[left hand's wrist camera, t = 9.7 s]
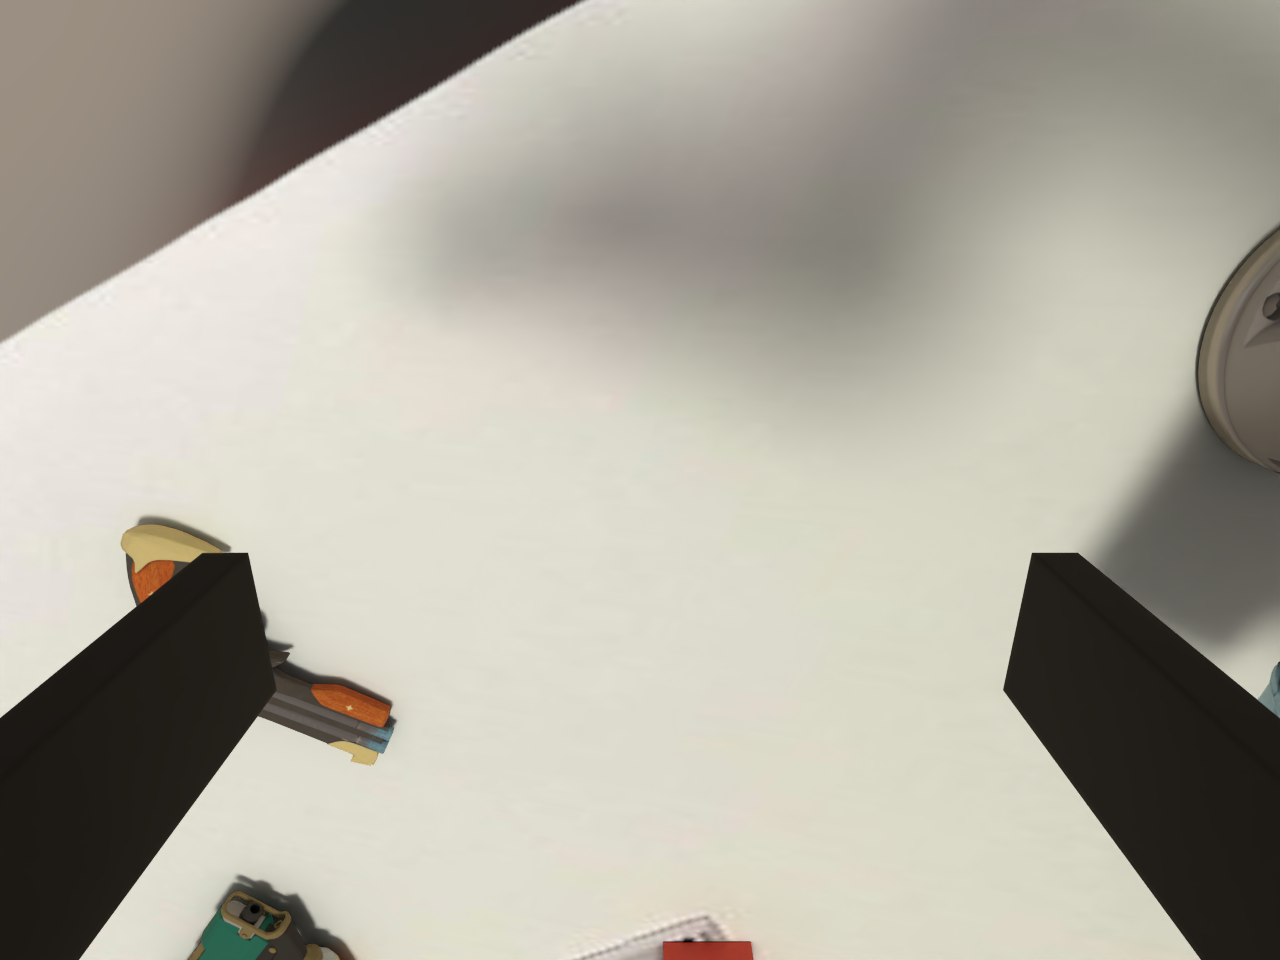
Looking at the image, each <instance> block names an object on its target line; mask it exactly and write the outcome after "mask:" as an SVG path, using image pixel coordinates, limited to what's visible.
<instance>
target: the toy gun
mask: <svg viewBox="0 0 1280 960" xmlns="http://www.w3.org/2000/svg"><path fill="white" fill-rule="evenodd" d="M121 547H122V549H123V550H124V551H125V552H126V563H127V572H128V579H129V583H130V588H131V591H132V594H133V597H134V600H135V603H136V606H138V605H139V604H140V603H142V602H143V601H144V600H145V599H146V598H148V597H149V596H150V595H151V594H153V593H154V592H155V591H156V590H157V589H159V588H160V587H161V586H162V585H164V584H165V583H166V582H167V581H168V580H170V579H171V578H172V577H173V576H175V575H176V574H177V573H178V572H179V571H181V570H182V569H183V568H184V567H186V566H187V565H188V564H189V563H190V562H192V561H193V560H194V559H195V558H197V557H198V556H199V555H200V554H201V553H222V551H221V550H220V549H218V548H216V547H215V546H213V545H211V544H209V543H207V542H205V541H203V540H201V539H198V538H196V537H194V536H192V535H190V534H187V533H185V532H182V531H180V530H177V529H173V528H169V527H165V526H161V525H151V524H147V525H139V526H136V527H133V528H131V529H129V530H127V531H126V532H125V533H124V534H123V537H122V539H121ZM289 654H290V653H289V652H280V651H273V650H269V655H270V660H271V665H272V669H273V674H274V679H275V684H276V689H277V690H276V692H275V693H274V694H273V696H272V697H271V699H270V700H269V701H268V703H267V704H266V705H265V707H264V708H263V709H262V711H261V712H260V714H259V715H258V716H259V717H262V718H265V719H267V720H270V721H273V722H275V723H278V724H280V725H283V726H285V727H288V728H290V729H293V730H296V731H298V732H301V733H303V734H306V735H308V736H311V737H313V738H316V739H318V740H320V741H323V742H325V743H327V744H328V745H331V746H333V747H336V748H338V749H341V750H344V751H346V752H348V753H351V754H353V758H352V760H351V762H356V763H361V764H365V765H371V764H374V763H375V761H376V759H377V756H378V753H382V754H383V753H384V751H385V749H386V747H387V745H388V742H389V739H390V737H391V735H392V733H393V730H394V727H392V726H390V725H391V723H389V722H387V719H388V716H389V714H390V708H391V707H390V706H389V705H386V704H384V703H382V702H380V701H377V700H375V699H373V698H370V697H368V696H365V695H363V694H361V693H358V692H356V691H354V690H351V689H349V688H347V687H344V686H341V685H334V684H309V683H307V682H304V681H302V680H299V679H297V678H294V677H292V676H289V675H287V674H286V673H284V672H282V671H281V670H279V669H277V668H276V667H275V666H277V665H280V664H282V663H284V662H285V660H286V659H287V657H288V656H289Z"/></svg>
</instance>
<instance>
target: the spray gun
mask: <svg viewBox="0 0 1280 960" xmlns="http://www.w3.org/2000/svg"><path fill="white" fill-rule="evenodd" d="M234 897H238V898H241V899H243V900H245V901H247V902H248V904H247V905H244V904H243V903H241V902H239V901H233V900H231V899H232V898H234ZM230 900H231V901H230ZM265 912H268V913H269V914H266V916H264V914H265ZM272 915H273V916H275V917H277V918H282V917H285V919H284V921H282V920H279V921H277V922H276V923H275V925H274V921H273V917H272ZM188 960H340V958H339V956H338V955H337V954H335V953H334V952H333V951H332V950H330V949H329V948H326V947H319V946H318V945H317V944H308V945H305V944H304V942H303V940H302V938H301V936H300V934H299V932H298V931H297V929H296V927H295V925H294V923H293V921H291V916H290V914H289V913H288V911H282V912H279V911H277V910H275V909H274V908H272V907H270V906H268V905H266V904H264V903H262V902H260V901H259V900H257V899H255V898H253V897H251V896H249V895H247V894H245V893H244V892H241V891H235V892H233V893H232V894H231V895H229V897H228V898H227V899H226V901H225V902H224V904H223V905H222V906H221V907H220V909H219V910H218V912H217V913H216V914H215V916H214V917H213V919H212V920H211V921H210V923H209V924H208V926H207V927H206V928H205V930H204V932H203V935H202V941H201V943H200V944H199V945H198V947H197V948H196V949H195V951H194V952H193V954H192V955H191V956H190V958H189V959H188Z"/></svg>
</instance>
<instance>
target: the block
mask: <svg viewBox="0 0 1280 960" xmlns="http://www.w3.org/2000/svg"><path fill="white" fill-rule="evenodd" d="M663 960H753V954H752V947H751V942H664V943H663Z"/></svg>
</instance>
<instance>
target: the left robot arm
mask: <svg viewBox="0 0 1280 960" xmlns="http://www.w3.org/2000/svg"><path fill="white" fill-rule="evenodd" d="M1198 380H1199V391H1200V396H1201V401H1202V404H1203V408H1204V411H1205V413H1206V416H1207V418H1208V420H1209V422H1210V424H1211V426H1212V427H1213V429H1214V430H1215V432H1216V433H1217V434H1218V436H1219V437H1220V438H1221V439H1222V441H1223V442H1224V443H1226V444H1227V445H1228V446H1229V447H1230V448H1231V449H1232V450H1234V451H1235V452H1236V453H1238V454H1239V455H1241V456H1242V457H1244V458H1246V459H1248V460H1250V461H1252V462H1254V463H1256V464H1259V465H1261V466H1263V467H1266V468H1268V469H1270V470H1273V471H1275V472H1277V473H1280V229H1279V230H1278V231H1277V232H1276V233H1274V234H1273V235H1272V236H1271V237H1270V238H1268V239H1267V240H1266V241H1265V242H1264V243H1263V244H1262V245H1261V246H1260V247H1259V248H1258V249H1257V250H1256V251H1255V252H1254V253H1253V254H1252V255H1251V256H1250V257H1249V258H1248V259H1247V260H1246V262H1245V263H1244V264H1243V265H1242V266H1241V267H1240V269H1239V270H1238V271H1237V273H1236V274H1235V275H1234V277H1233V278H1232V279H1231V281H1230V282H1229V284H1228V285H1227V287H1226V289H1225V290H1224V292H1223V293H1222V295H1221V297H1220V299H1219V301H1218V303H1217V304H1216V306H1215V308H1214V311H1213V313H1212V315H1211V317H1210V320H1209V322H1208V325H1207V328H1206V331H1205V334H1204V338H1203V342H1202V346H1201V351H1200V358H1199V370H1198ZM276 690H277V689H276V684H275V679H274V674H273V669H272V665H271V660H270V655H269V650H268V646H267V641H266V636H265V631H264V627H263V622H262V617H261V612H260V608H259V603H258V598H257V593H256V589H255V584H254V579H253V574H252V570H251V565H250V560H249V555H248V553H201V554H200V555H199V556H198V557H197V558H195V559H194V560H193V561H192V562H190V563H189V564H188V565H187V566H186V567H184V568H183V569H182V570H181V571H179V572H178V573H177V574H176V575H175V576H173V577H172V578H171V579H170V580H168V581H167V582H166V583H165V584H164V585H162V586H161V587H160V588H159V589H157V590H156V591H155V592H154V593H153V594H151V595H150V596H149V597H148V598H146V599H145V600H144V601H143V602H142V603H140V604H139V605H138V606H137V607H135V608H134V609H133V610H132V611H131V612H129V613H128V614H127V615H126V616H124V617H123V618H122V619H121V620H120V621H118V622H117V623H116V624H115V625H113V626H112V627H111V628H110V629H109V630H107V631H106V632H105V633H104V634H102V635H101V636H100V637H99V638H98V639H96V640H95V641H94V642H93V643H91V644H90V645H89V646H88V647H87V648H85V649H84V650H83V651H82V652H80V653H79V654H78V655H77V656H76V657H74V658H73V659H72V660H71V661H69V662H68V663H67V664H66V665H65V666H63V667H62V668H61V669H60V670H58V671H57V672H56V673H55V674H54V675H52V676H51V677H50V678H49V679H47V680H46V681H45V682H44V683H43V684H41V685H40V686H39V687H38V688H36V689H35V690H34V691H33V692H32V693H30V694H29V695H28V696H27V697H25V698H24V699H23V700H22V701H21V702H19V703H18V704H17V705H16V706H14V707H13V708H12V709H11V710H10V711H8V712H7V713H6V714H5V715H3V716H2V717H1V718H0V960H79V959H80V958H81V956H82V955H83V954H84V952H85V951H86V949H87V948H88V947H89V945H90V944H91V943H92V941H93V940H94V939H95V937H96V936H97V934H98V933H99V932H100V930H101V929H102V928H103V926H104V925H105V924H106V922H107V921H108V919H109V918H110V917H111V915H112V914H113V913H114V911H115V910H116V909H117V907H118V906H119V904H120V903H121V902H122V900H123V899H124V898H125V896H126V895H127V894H128V892H129V891H130V889H131V888H132V887H133V885H134V884H135V883H136V881H137V880H138V879H139V877H140V876H141V874H142V873H143V872H144V870H145V869H146V868H147V866H148V865H149V864H150V862H151V861H152V859H153V858H154V857H155V855H156V854H157V853H158V851H159V850H160V849H161V847H162V846H163V844H164V843H165V842H166V840H167V839H168V838H169V836H170V835H171V834H172V832H173V831H174V829H175V828H176V827H177V825H178V824H179V823H180V821H181V820H182V819H183V817H184V816H185V814H186V813H187V812H188V810H189V809H190V808H191V806H192V805H193V804H194V802H195V801H196V799H197V798H198V797H199V795H200V794H201V793H202V791H203V790H204V789H205V787H206V786H207V784H208V783H209V782H210V780H211V779H212V778H213V776H214V775H215V774H216V772H217V771H218V769H219V768H220V767H221V765H222V764H223V763H224V761H225V760H226V759H227V757H228V756H229V754H230V753H231V752H232V750H233V749H234V748H235V746H236V745H237V744H238V742H239V741H240V739H241V738H242V737H243V735H244V734H245V733H246V731H247V730H248V729H249V727H250V726H251V724H252V723H253V722H254V720H255V719H256V718H257V716H258V715H259V714H260V712H261V711H262V709H263V708H264V707H265V705H266V704H267V703H268V701H269V700H270V699H271V697H272V696H273V694H274V693H275V692H276ZM1003 690H1004V692H1005V693H1006V694H1007V696H1008V697H1009V699H1010V700H1011V701H1012V703H1013V704H1014V705H1015V707H1016V708H1017V709H1018V711H1019V712H1020V714H1021V715H1022V716H1023V718H1024V719H1025V720H1026V722H1027V723H1028V724H1029V726H1030V727H1031V729H1032V730H1033V731H1034V733H1035V734H1036V735H1037V737H1038V738H1039V739H1040V741H1041V742H1042V744H1043V745H1044V746H1045V748H1046V749H1047V750H1048V752H1049V753H1050V754H1051V756H1052V757H1053V759H1054V760H1055V761H1056V763H1057V764H1058V765H1059V767H1060V768H1061V769H1062V771H1063V772H1064V774H1065V775H1066V776H1067V778H1068V779H1069V780H1070V782H1071V783H1072V784H1073V786H1074V787H1075V789H1076V790H1077V791H1078V793H1079V794H1080V795H1081V797H1082V798H1083V799H1084V801H1085V802H1086V804H1087V805H1088V806H1089V808H1090V809H1091V810H1092V812H1093V813H1094V814H1095V816H1096V817H1097V819H1098V820H1099V821H1100V823H1101V824H1102V825H1103V827H1104V828H1105V829H1106V831H1107V832H1108V834H1109V835H1110V836H1111V838H1112V839H1113V840H1114V842H1115V843H1116V844H1117V846H1118V847H1119V849H1120V850H1121V851H1122V853H1123V854H1124V855H1125V857H1126V858H1127V859H1128V861H1129V862H1130V864H1131V865H1132V866H1133V868H1134V869H1135V870H1136V872H1137V873H1138V874H1139V876H1140V877H1141V879H1142V880H1143V881H1144V883H1145V884H1146V885H1147V887H1148V888H1149V889H1150V891H1151V892H1152V894H1153V895H1154V896H1155V898H1156V899H1157V900H1158V902H1159V903H1160V904H1161V906H1162V907H1163V909H1164V910H1165V911H1166V913H1167V914H1168V915H1169V917H1170V918H1171V919H1172V921H1173V922H1174V924H1175V925H1176V926H1177V928H1178V929H1179V930H1180V932H1181V933H1182V934H1183V936H1184V937H1185V939H1186V940H1187V941H1188V943H1189V944H1190V945H1191V947H1192V948H1193V949H1194V951H1195V952H1196V954H1197V955H1198V956H1199V958H1200V959H1201V960H1280V662H1278V664H1277V665H1276V666H1275V667H1274V669H1273V671H1272V674H1271V678H1270V683H1269V684H1268V686H1267V687H1266V689H1265V690H1264V692H1263V693H1262V695H1261V696H1260V697H1259V699H1258V700H1257V699H1256V698H1255V697H1253V696H1252V695H1251V694H1250V693H1248V692H1247V691H1246V690H1245V689H1244V688H1242V687H1241V686H1240V685H1239V684H1237V683H1236V682H1235V681H1234V680H1233V679H1231V678H1230V677H1229V676H1228V675H1226V674H1225V673H1224V672H1223V671H1222V670H1220V669H1219V668H1218V667H1217V666H1215V665H1214V664H1213V663H1212V662H1211V661H1209V660H1208V659H1207V658H1206V657H1204V656H1203V655H1202V654H1201V653H1200V652H1198V651H1197V650H1196V649H1195V648H1193V647H1192V646H1191V645H1190V644H1189V643H1187V642H1186V641H1185V640H1184V639H1182V638H1181V637H1180V636H1179V635H1178V634H1176V633H1175V632H1174V631H1173V630H1171V629H1170V628H1169V627H1168V626H1167V625H1165V624H1164V623H1163V622H1162V621H1160V620H1159V619H1158V618H1157V617H1156V616H1154V615H1153V614H1152V613H1151V612H1149V611H1148V610H1147V609H1146V608H1145V607H1143V606H1142V605H1141V604H1140V603H1138V602H1137V601H1136V600H1135V599H1134V598H1132V597H1131V596H1130V595H1129V594H1127V593H1126V592H1125V591H1124V590H1123V589H1121V588H1120V587H1119V586H1118V585H1116V584H1115V583H1114V582H1113V581H1112V580H1110V579H1109V578H1108V577H1107V576H1105V575H1104V574H1103V573H1102V572H1101V571H1099V570H1098V569H1097V568H1096V567H1094V566H1093V565H1092V564H1091V563H1090V562H1088V561H1087V560H1086V559H1085V558H1083V557H1082V556H1081V555H1080V554H1079V553H1032V555H1031V560H1030V565H1029V570H1028V574H1027V579H1026V584H1025V589H1024V593H1023V598H1022V603H1021V608H1020V612H1019V617H1018V622H1017V627H1016V631H1015V636H1014V641H1013V646H1012V650H1011V655H1010V660H1009V665H1008V669H1007V674H1006V679H1005V684H1004V689H1003Z"/></svg>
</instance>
